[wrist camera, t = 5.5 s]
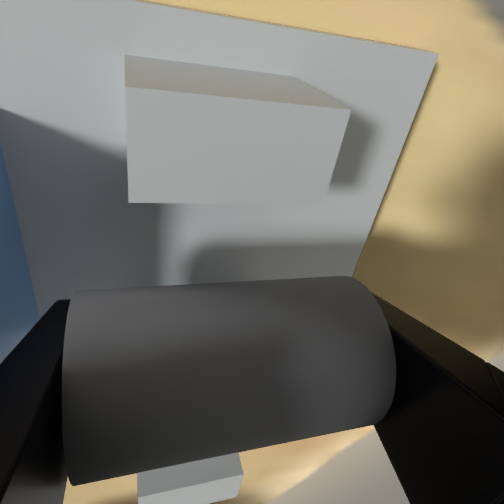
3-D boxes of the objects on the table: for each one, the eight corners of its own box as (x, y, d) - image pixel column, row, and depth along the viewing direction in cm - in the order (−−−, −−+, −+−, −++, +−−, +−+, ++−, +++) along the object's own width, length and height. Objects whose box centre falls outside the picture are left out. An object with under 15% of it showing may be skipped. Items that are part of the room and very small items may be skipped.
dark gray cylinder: (356, 248, 9) (422, 406, 7) (302, 312, 11) (339, 437, 10) (69, 256, 7) (53, 478, 5) (90, 331, 10) (85, 490, 8)
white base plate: (286, 410, 21) (324, 510, 17) (44, 452, 17) (21, 592, 13) (416, 48, 11) (582, 88, 7) (-103, -43, 7) (-384, -67, 3)
